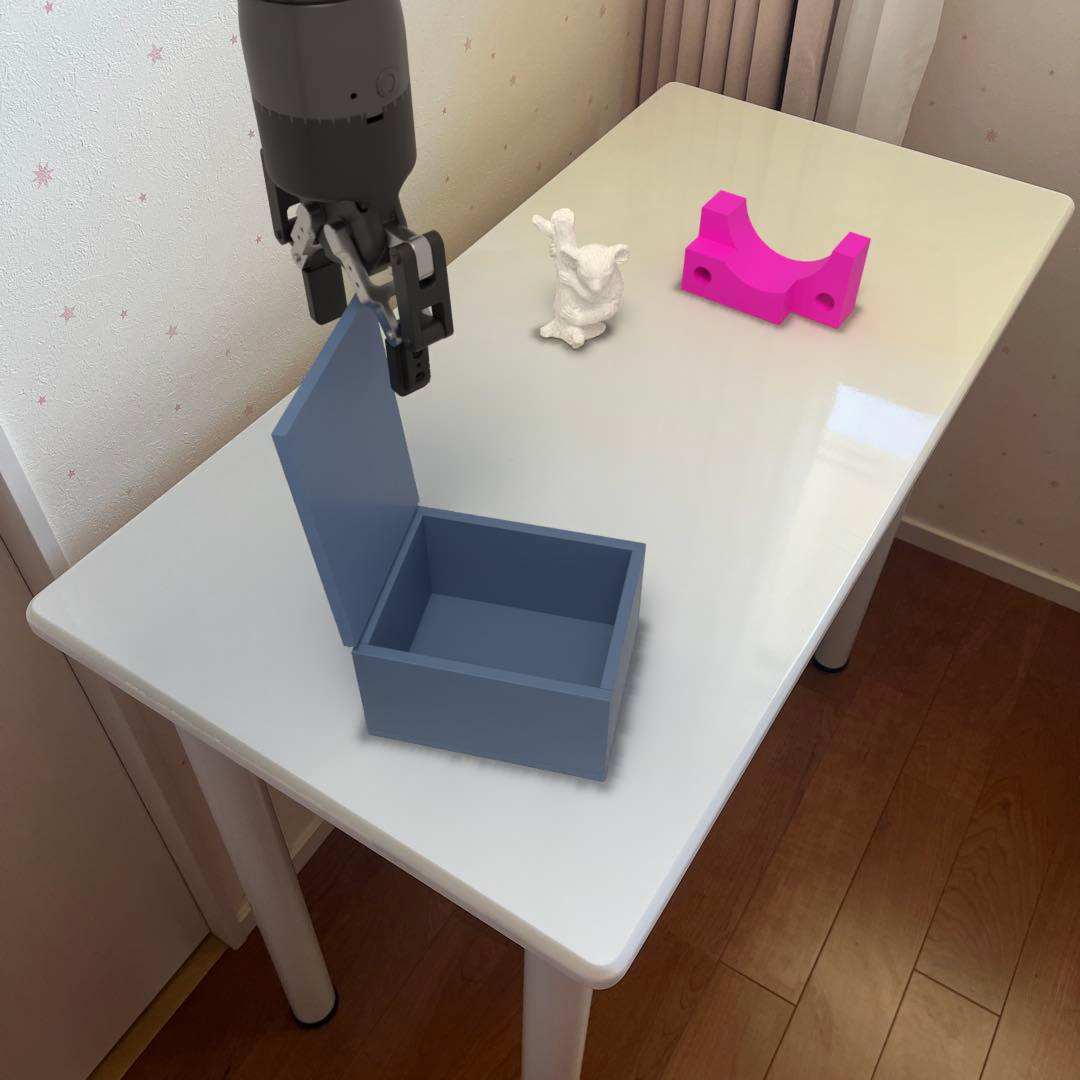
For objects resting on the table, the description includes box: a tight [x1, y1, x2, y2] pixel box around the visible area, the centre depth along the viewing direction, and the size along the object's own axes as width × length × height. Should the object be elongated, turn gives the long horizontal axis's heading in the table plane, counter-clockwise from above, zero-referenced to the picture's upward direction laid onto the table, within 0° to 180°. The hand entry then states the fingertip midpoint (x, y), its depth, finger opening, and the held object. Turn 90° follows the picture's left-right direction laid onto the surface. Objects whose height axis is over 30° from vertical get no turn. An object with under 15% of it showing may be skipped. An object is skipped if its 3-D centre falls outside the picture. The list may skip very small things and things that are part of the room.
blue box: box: [350, 504, 647, 782], centre depth 71 cm, size 16×13×9 cm
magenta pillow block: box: [680, 189, 872, 330], centre depth 102 cm, size 15×6×8 cm, turn 56°
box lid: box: [270, 292, 421, 648], centre depth 63 cm, size 16×13×1 cm
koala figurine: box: [531, 207, 631, 350], centre depth 97 cm, size 8×7×12 cm
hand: (369, 352), depth 64 cm, fingers open, 8 cm apart
